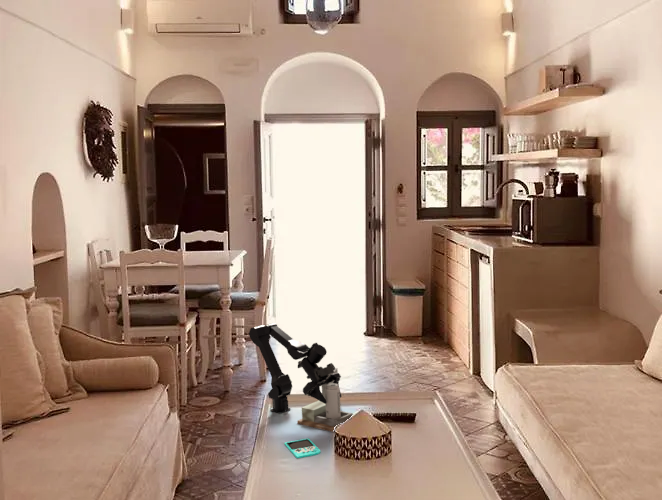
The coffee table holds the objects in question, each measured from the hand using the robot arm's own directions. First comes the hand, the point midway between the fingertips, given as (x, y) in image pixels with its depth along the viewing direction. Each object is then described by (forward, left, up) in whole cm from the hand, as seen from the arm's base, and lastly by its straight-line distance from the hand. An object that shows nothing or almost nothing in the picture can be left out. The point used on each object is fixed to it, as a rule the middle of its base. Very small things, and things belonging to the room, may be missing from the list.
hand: (333, 400), depth 300 cm
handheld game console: (+7, -28, -11) cm, 31 cm away
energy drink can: (-1, 0, -9) cm, 9 cm away
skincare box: (-17, +19, -10) cm, 28 cm away
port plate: (-3, 0, -10) cm, 10 cm away
